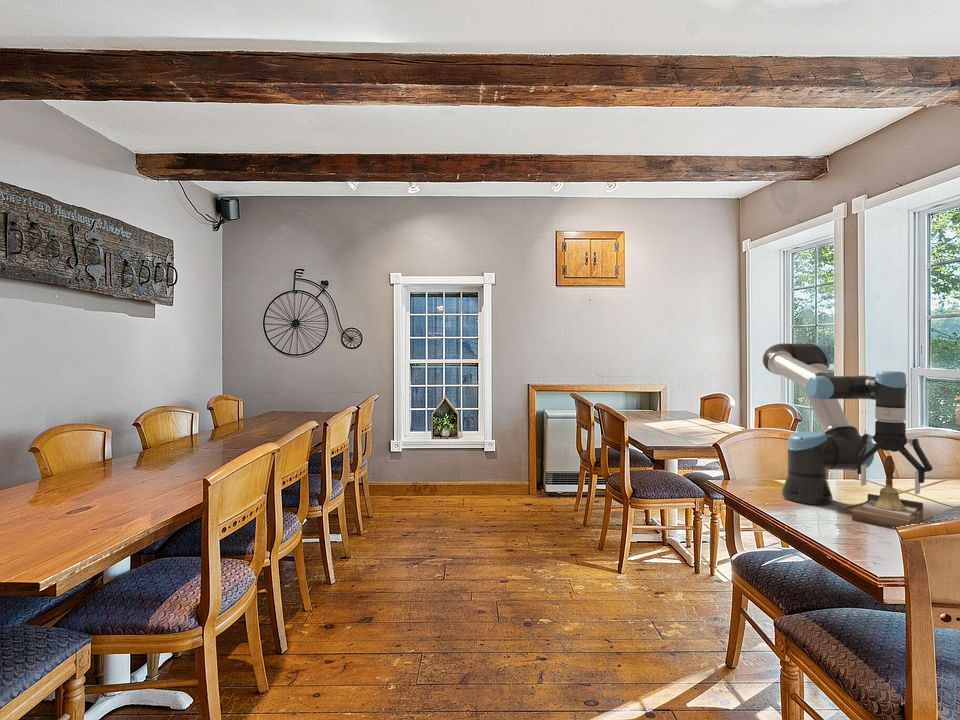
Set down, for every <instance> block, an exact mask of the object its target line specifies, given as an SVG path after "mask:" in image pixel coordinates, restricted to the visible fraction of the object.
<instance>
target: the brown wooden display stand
mask: <svg viewBox="0 0 960 720" xmlns="http://www.w3.org/2000/svg"><path fill="white" fill-rule="evenodd" d="M879 495H880V494H872V493H868V494H867V500H865V502H863V503H861V504H860V505H858V506H856V507H855V508H854V509H852V510H851V521H854V520H855V522H860V523H864V524H870V525H876V526H878V527H879V526H880V527H884V528H890V529H893V527H894V528H896V527H900V526H906V525H911V524H916V523H918V524H919V523H920V522H921V521H922V520H923V519H924V502H922V501H921V502H920V501H913V500H909V499H902V498H900V501H901V503H902V504H903V505H904V506H905V507H906V510H904V511H893V510H885V509H881V508H877V507H875V506H873V503H874V502H876V501H877V500H878V498H879ZM922 518H923V519H922ZM921 519H922V520H921ZM919 521H920V522H919Z"/></svg>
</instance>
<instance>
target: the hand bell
mask: <svg viewBox="0 0 960 720" xmlns="http://www.w3.org/2000/svg"><path fill="white" fill-rule="evenodd" d="M883 470H884V473H885V487H883V488H880V491H879V494H878V495H879V498H878V500H877V501H876V502H874V503H873V506H875V507H877V508H881V509H885V510H893V511H904V510H906V507H905V506H904V505H903V504H902V503H901V501H900V499H901V498H900V496H899V491H898V490H897V489H895V488H893V475H894V473H895V462H894V460H893V456H892V455H887V456H886V458H885V460H884V463H883Z"/></svg>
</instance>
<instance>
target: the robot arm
mask: <svg viewBox="0 0 960 720" xmlns="http://www.w3.org/2000/svg"><path fill="white" fill-rule="evenodd" d="M830 358H831V357H830V353H829V351H828V350H827V348H826V347H825V346H824V345H821V344H819V343H811V342H807V343H777V344H773V345H771V346H770V347H769V348H767V349H766V350H765V351H764V353H763V356H762V364H763V366H764V368H765V369H766V370H767V371H769V372H770V373H772V374H773V375H776V376H783V377H784V378H787V379H789V380H791V381H792V382H794V383H796V384H798V385H800V386H802V387H803V388H804V391H805V394H806V395H807V398H808V401H809V403H810V405H811V407H812V410H813V412H814V414H815V416H816V419H817V421H818V423H819V426H820V428H821V430H822V431H814V430H813V431H810V430H809V431H798V432H795V433H792V434H790V435H789V436H788V440H787V446H786V447H787V475H786V479H785V481H784V484H783V487H782V489H781V496H782V495H783V496H784V497H786V498H788V499H791V500H795V501H798V502H797V503H799V502H802V503H801V504H805V503H808V504H807V505H816V504H819V505H821V506H822V505H830V504H832V503H833V493H832V491H831V489H830V486H829V483H828V480H827V470H829V471H830V470H832V471H833V470H835V471H836V470H837V471H838V470H839V471H841V470H845V471H847V470H848V471H857V474H858V475H860V486H866V485H867V469H868V468H869V467H870V466H871V465H872V463H873V462H874V458H875V453H878V451H879V450H882V451H886V452H887V451H889V452H894V453H895V452H899V453H900V454H901V455H903V456H904V458H905V459H906V460H907V461H908V462H909V464H911V465H912V467H914V469H915V470H916V471H915V472H914V494H915V495H919V494H921V484H924V483H925V481H926V480H925V478H926V476H925V473H927V472H931V471H933V469H934V468H933V466H932V465H931V463H930V461H929V459H928V457H927V456H926V454H925V453H924V450H923V449H922V448H921V446H920V445H921V444H920V440H919V438H907V436H906V432H907V431H906V426H907V424H906V423H905V421H906V420H907V407H906V405H907V385H908V384H907V377H906V373H905V372H903V371H893V370H889V371H888V370H881V371H880V370H879V371H877V372H876V373H875V376H870V375H852V376H851V375H842V376H841V375H839V376H838V375H830V374H829V373H828V371H829V368H830V366H831V360H830ZM839 400H873V401H875V410H874V411H875V412H874V415H875V416H874V418H875V419H876V420H875V422H874V425H875V426H874V427H875V428H874V435H871V434H869V433H864V434H863V435H860V432H859V431H858V429H857V427H855V426H853V425H851V424H850V423H849V420H848V418H847V417H846V415H845V412H844V410H843V409H842V406H841V404H840V402H839ZM873 441H874V442H873ZM874 443H876V444H875V445H874ZM907 444H909V445H910V447H912V449H913V450H914V452H915V453H916V455H917V456H918V459H919V460H920V462H921V463H920V462H919V461H918V460H917V459H916V458H915V457H914V456H913V455H912V454H911V452H910V451H908V449H907V448H906V447H905V446H906V445H907ZM788 499H787V500H788ZM791 500H790V501H791Z"/></svg>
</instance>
